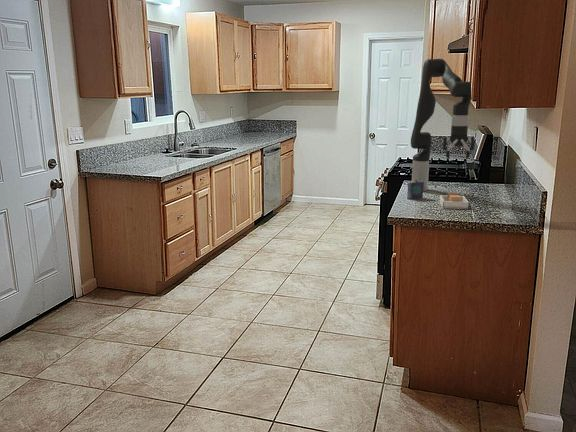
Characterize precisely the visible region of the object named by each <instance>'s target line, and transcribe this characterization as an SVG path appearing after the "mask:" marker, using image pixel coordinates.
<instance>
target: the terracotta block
mask: <svg viewBox="0 0 576 432" xmlns="http://www.w3.org/2000/svg"><path fill="white" fill-rule="evenodd" d="M460 196H461V195H460V194H458V195H450V198H449V201H459V202H460Z"/></svg>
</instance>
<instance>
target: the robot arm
mask: <svg viewBox="0 0 576 432" xmlns="http://www.w3.org/2000/svg"><path fill="white" fill-rule="evenodd" d="M421 73H422V74H421V85H420V90H419V97H418V101H417V106H416V107H417V108H416V114H415V120H414V125H413V129H412V132H411V136H410V147H411V148H412V149H417V150H421V149H422V150H421V151H420V152H418V153H416V154H414V155H413V156H412V170H411V171H412V172H411V182H414V179H415V178H416V179H417V181H422V182H424V183H423V192H426V191H428V188H429V172H430V171H429V170H430V157H431V146H432V135H431V133H430V132H428V131H421V130H422V129H423V127H424V126H425V125H426V123H427V122H428V121H429V120H430V119H431V117H432V116H433V114H434V113H435V108H436V103H437V102H436V97H435V95H434V92H433V90H432V87H431V78H439V77H441V79H442V80H441V81H442V84H443V85H444V86H445V87H446V88H447V89H448V90H449V94H450V95H451V96H452V97H454V98H462V99H461V100H460V101H457V102H454V103H453V105H452V106H453V107H452V116H451V126H450V127H451V128H450V136H448V137H447V136H444V137H443V142H442V149H443V150H444V151H445V152H446V154H445V157H446V158H447V160H448V159H449V160H450V156H451V155H450V153H451V151H450V150H451V149H452V148H453V147H464V148H465V150H466V151H465V159H466V160H468V159H469V158H470V151H473V150H474V149H475V137H473V136H471V137H470V136H469V137H468V130H469V107H470V105H471V100H472V98H471V83H472V82H471V81H463V80H462V78H461V76H459V75H457V74H456V73H454V71H453V70H452V68H451V67H450V66H449V64H448V62H446V61H445V60H444V59H443V58H429V59H425V60H424V63H423V66H422V72H421ZM449 141H450V144H448V146H447V142H449ZM467 141H469V142H470V146H469V145H467Z"/></svg>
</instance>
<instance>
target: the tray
mask: <svg viewBox="0 0 576 432" xmlns="http://www.w3.org/2000/svg"><path fill="white" fill-rule="evenodd" d="M459 196H460V202H459V201H447V197H448V194H446V195H443V194H442V195H439V204H440V206H441V208H442V209H451V210H453V209H454V210H468V209H469V201H468V199H467V198H466V197H465V195H459Z"/></svg>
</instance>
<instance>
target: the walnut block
mask: <svg viewBox="0 0 576 432" xmlns="http://www.w3.org/2000/svg"><path fill="white" fill-rule="evenodd" d="M450 195H459V193H458V192H449V191H448V192H447V196H448V197H447V201H449V198H450Z"/></svg>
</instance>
